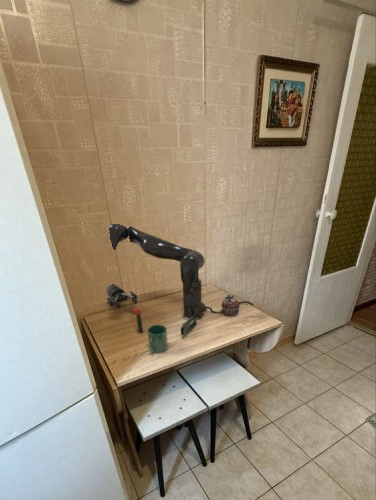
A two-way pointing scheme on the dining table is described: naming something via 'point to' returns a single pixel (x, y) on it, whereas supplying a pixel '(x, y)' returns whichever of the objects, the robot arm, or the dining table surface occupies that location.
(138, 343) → the dining table surface
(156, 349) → the mug
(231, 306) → the cupcake
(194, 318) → the mobile phone
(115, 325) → the dining table surface
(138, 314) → the marker
